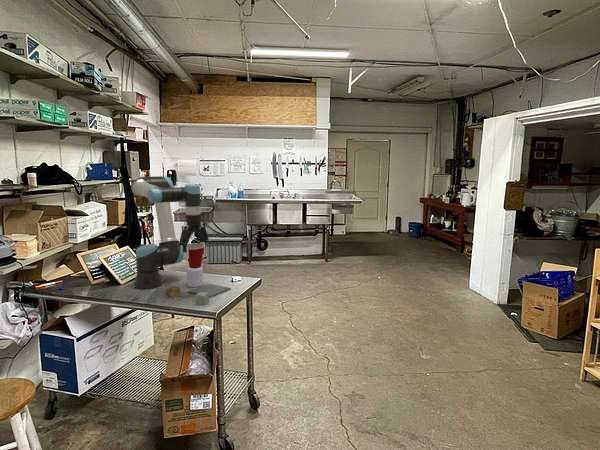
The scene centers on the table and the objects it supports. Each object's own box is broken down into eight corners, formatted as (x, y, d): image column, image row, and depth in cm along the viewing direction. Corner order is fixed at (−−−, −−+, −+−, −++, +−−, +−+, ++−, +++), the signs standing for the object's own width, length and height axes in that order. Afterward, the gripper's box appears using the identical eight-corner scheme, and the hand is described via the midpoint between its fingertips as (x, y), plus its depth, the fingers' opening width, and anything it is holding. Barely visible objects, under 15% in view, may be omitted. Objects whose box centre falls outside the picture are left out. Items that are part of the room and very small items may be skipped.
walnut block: (166, 296, 196) (165, 287, 195) (173, 294, 200) (173, 285, 200) (172, 298, 193) (172, 289, 193) (180, 295, 198) (179, 286, 197)
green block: (195, 304, 185) (195, 294, 184) (200, 301, 190) (200, 291, 189) (204, 305, 184) (204, 295, 183) (209, 302, 188) (209, 292, 188)
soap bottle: (184, 286, 213) (182, 244, 210) (192, 282, 222) (191, 241, 218) (197, 288, 210) (196, 245, 207) (206, 283, 219) (204, 242, 216)
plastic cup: (181, 269, 189) (180, 246, 188) (189, 264, 200) (188, 242, 198) (201, 270, 188) (201, 247, 187) (208, 265, 199) (208, 243, 197)
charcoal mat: (188, 292, 202) (188, 291, 202) (209, 285, 216) (209, 283, 216) (210, 297, 195) (210, 296, 194) (230, 289, 208) (230, 287, 208)
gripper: (180, 217, 178) (182, 261, 182) (214, 212, 198) (215, 252, 201) (170, 216, 182) (171, 259, 185) (204, 211, 202) (205, 251, 205)
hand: (194, 256), depth 193 cm, fingers closed on plastic cup, 11 cm apart
